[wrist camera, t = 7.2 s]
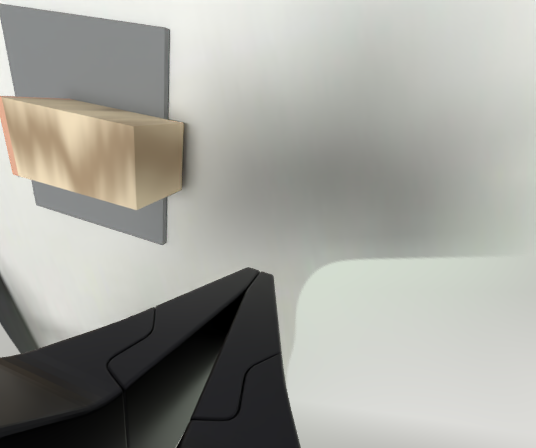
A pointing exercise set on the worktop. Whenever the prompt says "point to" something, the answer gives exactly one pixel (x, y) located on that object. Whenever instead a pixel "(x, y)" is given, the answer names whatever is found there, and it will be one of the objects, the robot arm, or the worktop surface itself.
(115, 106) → the mat
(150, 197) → the pine block
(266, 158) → the worktop surface
